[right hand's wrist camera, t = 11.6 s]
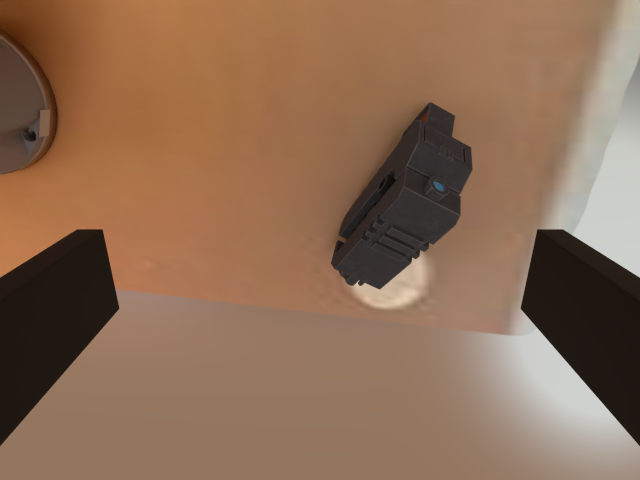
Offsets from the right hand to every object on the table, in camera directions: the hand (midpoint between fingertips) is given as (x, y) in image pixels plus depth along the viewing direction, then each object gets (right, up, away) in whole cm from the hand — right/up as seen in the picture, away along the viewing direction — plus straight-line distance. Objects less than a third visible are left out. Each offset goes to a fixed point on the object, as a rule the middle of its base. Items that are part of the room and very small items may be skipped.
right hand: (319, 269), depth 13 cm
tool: (+7, +6, +34) cm, 36 cm away
